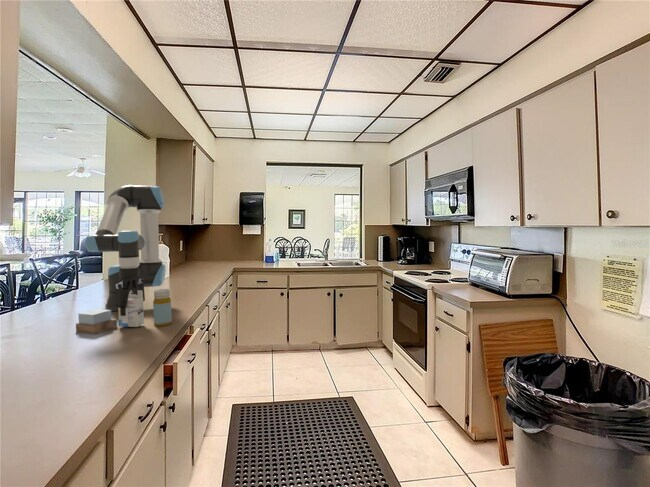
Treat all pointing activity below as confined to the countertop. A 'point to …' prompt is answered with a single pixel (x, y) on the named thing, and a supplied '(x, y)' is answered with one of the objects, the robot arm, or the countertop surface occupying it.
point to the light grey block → (94, 316)
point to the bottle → (162, 307)
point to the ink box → (134, 310)
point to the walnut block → (96, 327)
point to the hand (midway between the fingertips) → (131, 320)
